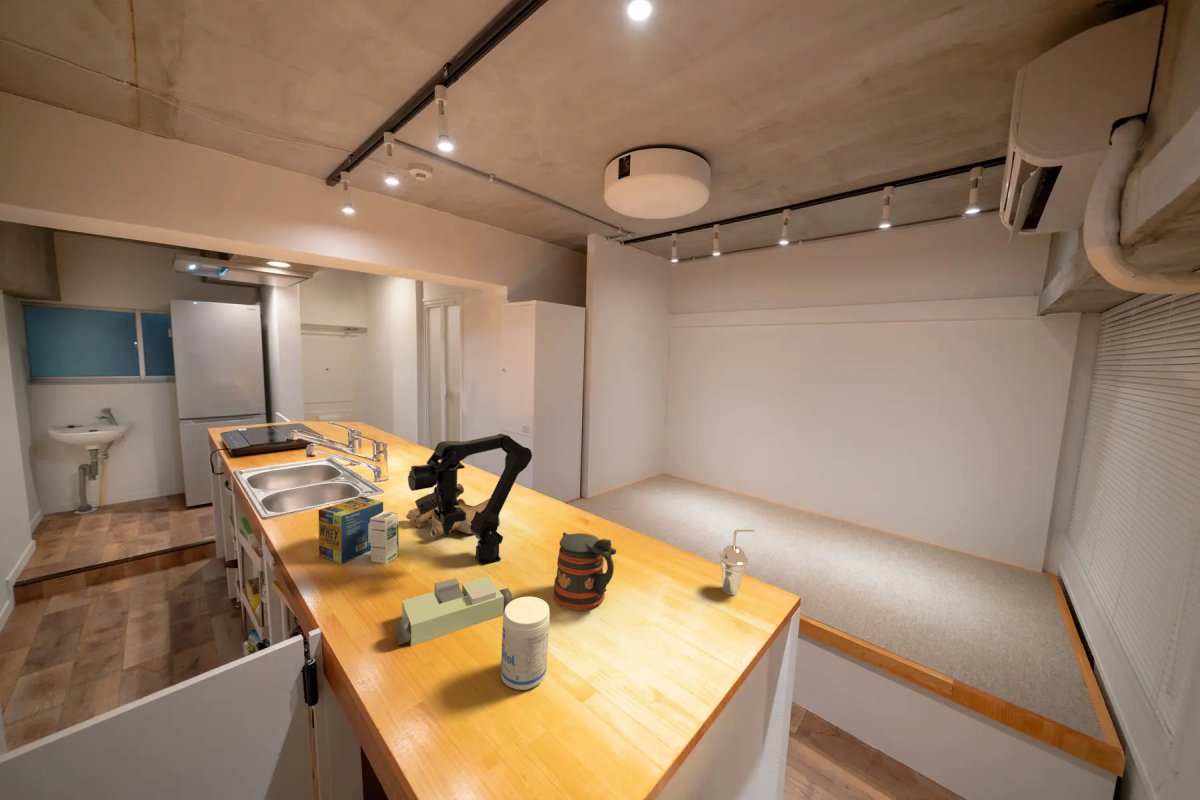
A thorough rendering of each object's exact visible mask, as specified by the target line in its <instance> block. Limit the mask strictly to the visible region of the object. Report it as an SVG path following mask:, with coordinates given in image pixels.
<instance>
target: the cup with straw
mask: <svg viewBox="0 0 1200 800" xmlns="http://www.w3.org/2000/svg"><path fill="white" fill-rule="evenodd" d="M737 533H755V529H736V530H734V531H733V537H732V538H733V541H732V544H730V545H727V546H726V547H724V548H723V549H722V551H721V552H719V554H718V556H717V557H718V560H719V561H720V565H721V583H722V591H723V593H725V594H727V595H730V596H737V595H738V594H739V590H740V587H741V582H742V577H743V573H744V571H745V568H746V566H748V565H749V560H748V557H747V556H746V554H745V551H743V549H742V548H741V547H740V546H737V544H736V541H737Z"/></svg>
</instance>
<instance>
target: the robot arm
mask: <svg viewBox="0 0 1200 800" xmlns="http://www.w3.org/2000/svg"><path fill="white" fill-rule="evenodd" d="M497 449H498V450H499V449H501V450H502V451H503V452H504V453H506V455H505V458H504V469H503V471H502V473H501V475H500V478H499V479H498V482H497V484H496V486H495V488H494V490H493V492H492V493H491V496H490V497H489V498H490V500H489V502H488V504H487V506H486V508H485V509H484V510H483V511H481V512H480V513H479V512H478V511H477V512H476V513H475V516H474V518H473V520H472V521H471V522H470V523H471V527H470V529H471V532H472V533H473V534H472V535H474V536H475V538H476V539H477V545H476V546H475V556H474V557H475V559H476V560H477V561H478V563H480V565H482V566H485V565H487V564H491V563H496V562H499V561H501V560H502V558H501V557H500V544H502V543H503V539H504V536H503V535H501V534H500V533H499V532H498V528H499V526H500V525H499V519H500V513H501V511H502V509H503V507H504V504H505V503H506V501H507V499H508V496H509V494H510V492H511V491H512V488H513V487H514V484H515V482H516V480H517V478H518V477H519V476H518V475H520V473H521V472H523V471H524V470H525V469H526V468H527V467H528V465H529V464H530V462H531V461H532V459H533V453H532V450H531V449H530V448H529V447H526V446H523V445H521V444H520V443H518V442H517V441H515V440H514V439H513V438H512V437H511V436H509V435H507V434H504V433H499V434H495V435H490V436H486V437H479V438H476V439H470V440H466V441H465V440H464V441H460V440H444V441H440V442H438V443H437V445H436V446H435V449H434V452H433V453H432V454H431V456H430V457H429V459H428V460H427V462H426V464H424V465H412V466H411V470H409V473H408V476H407V483H408V486H409V489H410V490H411V491H412V492H415V491H420V490H424V489H431V488H432V489H433V492H432V493H428V494H426V495H424V496H422V497H419V498H417V499H416V500H415V501H414V503H415V505H416V508H417V509H418V510H419V512H420V513H421V514H422V515H423V514H426V513H427V512H429V511H431V510H433V509H434V508H436V510H434V513H435V514H436V515H437V516H438V518H439V519H440V520H441V524H442V528H443V533H444V534H443V535H444V536H449V534H450V532H452V531H451V529H452V527H453V525H454V523H455V522H460V521H465V520H466V513H465V511H464V510H463V509H461V508H460V507H454V506H458V505H459V502H458V501H457V500H458V497H457V492H459V488H458V487H457V484H458V470H463V469H465V467H466V466H465V465H463V464H462V463H461V461H463V460H464V459H466V458H467V457H469V456H472V455H476V454H480V453H484V452H489V451H493V450H497ZM498 525H499V526H498Z"/></svg>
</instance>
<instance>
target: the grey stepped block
mask: <svg viewBox="0 0 1200 800" xmlns="http://www.w3.org/2000/svg"><path fill="white" fill-rule="evenodd" d="M434 595H435V597H436V599H437V601H438V603H439V604H441V603H444V602H448V601H451V600H455V599H458V598H461V597H465V596H464V594H463V593H462V589H461V588H460V582H459V580H458V579H457V578H456V577H455V578H452V579H451V578H450V579H449V580H444V581H439V582H436V583H434Z"/></svg>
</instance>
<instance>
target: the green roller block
mask: <svg viewBox="0 0 1200 800" xmlns="http://www.w3.org/2000/svg"><path fill="white" fill-rule="evenodd" d="M461 586H462V587H461V591H462V593H463V594H464V596H465V597H461V598H458V599H455V600H451V601H448V602H444V603H441V604H439V603H438V601H437V599H436V597H435V592H433V591H432V592H427V593H426V594H425V593H424V594H421V595H418V596H414V597H410V598H407V599H404V600H403V599H402V601H401V619H400V620H396V621H395V635H396V636H395V637H396V638H395V639H396V642H397V645H398V646H400V645H403V644H407V643H410V646H411V647H413V646H415V645H419V644H421V643H424V642H427V641H431V640H433V639H436V638H438V637H442V636H445V635H448V634H450V633H454V632H456V631H459V630H462V629H463V630H464V629H465V628H469V627H471V626H475V625H477V624H478V625H479V624H480V623H483V622H487V621H489V620H492V619H495V618H498V617H501V616H504V610H505V607H506V606H507V604H508V603H510V602H511V601H513V596H512V593H511V591H510V588H508V587H507V588H503V589H499V588H498V587H497V585H496V584H495V583H494V582H493V581H492V579H491V578H490V576H486V577H483V578H479V579H475V580H472V581H468V582H465V583H462V584H461Z"/></svg>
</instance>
